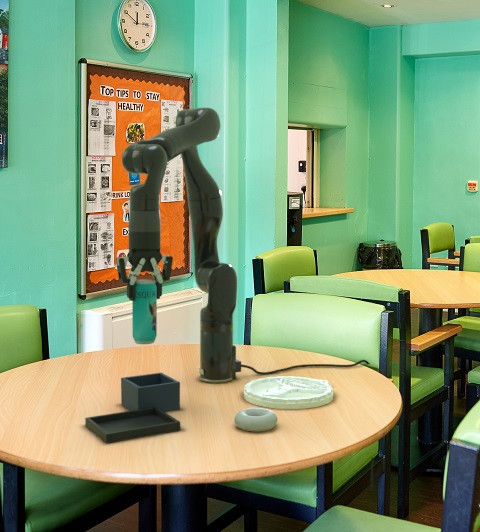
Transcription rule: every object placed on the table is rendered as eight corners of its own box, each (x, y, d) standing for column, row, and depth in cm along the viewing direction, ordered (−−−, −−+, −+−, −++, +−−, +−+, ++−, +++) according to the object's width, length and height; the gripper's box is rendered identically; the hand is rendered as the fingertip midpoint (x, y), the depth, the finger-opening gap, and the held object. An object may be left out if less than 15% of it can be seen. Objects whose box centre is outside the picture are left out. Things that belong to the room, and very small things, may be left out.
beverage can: (151, 345, 193) (151, 282, 191) (128, 344, 194) (128, 281, 193) (159, 340, 199) (160, 279, 197) (137, 339, 200) (137, 278, 198)
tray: (156, 414, 196) (156, 406, 196) (180, 430, 185) (180, 421, 185) (85, 426, 187) (85, 417, 187) (106, 443, 176) (106, 434, 175)
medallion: (224, 396, 213) (224, 387, 213) (293, 377, 233) (293, 369, 232) (292, 415, 197) (292, 405, 197) (359, 393, 217) (359, 384, 217)
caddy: (161, 398, 210) (161, 372, 209) (180, 409, 201) (180, 382, 200) (121, 405, 204) (120, 377, 203) (138, 416, 195) (138, 388, 194)
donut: (275, 420, 194) (233, 420, 193) (275, 406, 193) (233, 405, 192) (279, 433, 184) (234, 433, 183) (279, 419, 183) (235, 418, 182)
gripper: (121, 231, 186) (121, 303, 188) (179, 229, 194) (178, 299, 196) (110, 228, 193) (110, 299, 195) (166, 227, 200) (165, 295, 202)
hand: (144, 299), depth 195 cm, fingers closed on beverage can, 5 cm apart
